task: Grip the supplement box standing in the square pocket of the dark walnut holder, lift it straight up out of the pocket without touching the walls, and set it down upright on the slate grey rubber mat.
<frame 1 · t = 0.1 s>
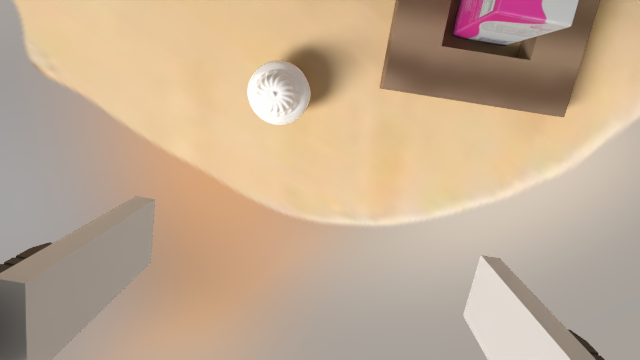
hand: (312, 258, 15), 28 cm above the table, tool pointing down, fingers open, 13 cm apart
supplement box: (484, 11, 39), resting in holder
holder: (485, 10, 39), on the table
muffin: (283, 92, 41), on the table
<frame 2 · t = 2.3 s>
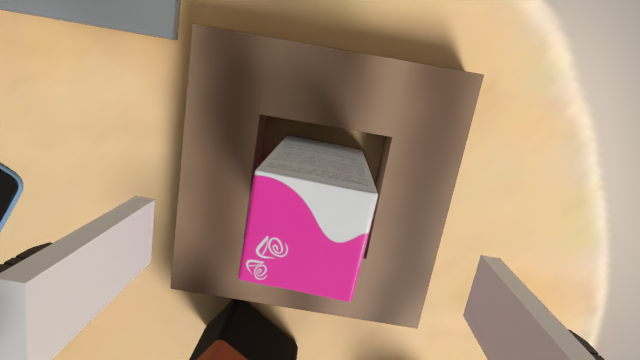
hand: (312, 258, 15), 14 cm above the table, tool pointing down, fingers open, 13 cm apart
battery: (253, 333, 32), on the table
supplement box: (316, 178, 29), resting in holder
holder: (316, 179, 29), on the table
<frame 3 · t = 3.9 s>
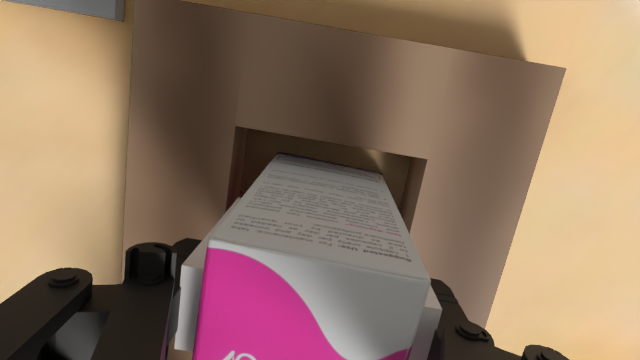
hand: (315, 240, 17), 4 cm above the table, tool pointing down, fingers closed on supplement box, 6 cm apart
supplement box: (318, 210, 21), resting in holder, touching gripper
holder: (318, 212, 21), on the table
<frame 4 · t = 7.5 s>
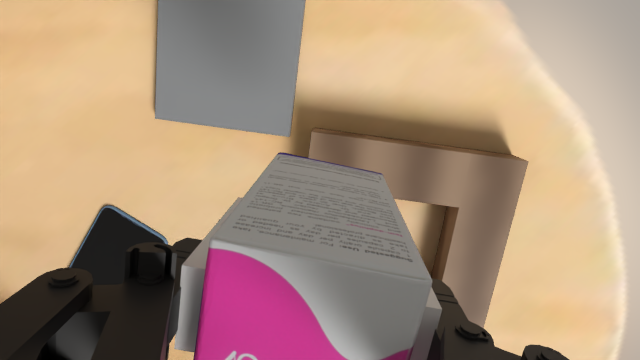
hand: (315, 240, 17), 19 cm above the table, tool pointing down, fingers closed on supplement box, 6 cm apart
supplement box: (318, 211, 21), point 15 cm above the table, touching gripper
holder: (394, 234, 37), on the table
mat: (229, 58, 34), on the table
smartphone: (108, 275, 40), on the table
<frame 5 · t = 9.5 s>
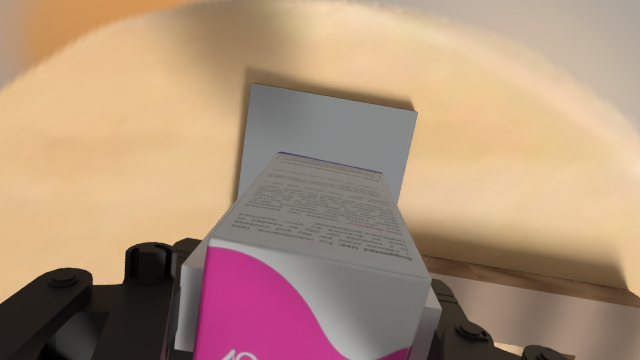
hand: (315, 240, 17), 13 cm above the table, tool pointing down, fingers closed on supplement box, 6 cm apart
supplement box: (318, 210, 21), point 9 cm above the table, touching gripper
mat: (321, 176, 30), on the table
when the fingers open (6 cm above the table, at t = 11.0 s): supplement box drops 1 cm, resting on mat.
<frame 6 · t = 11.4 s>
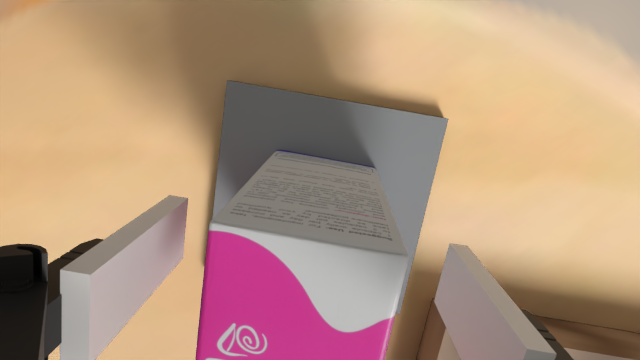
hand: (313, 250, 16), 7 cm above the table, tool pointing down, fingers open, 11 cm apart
supplement box: (316, 204, 22), point 1 cm above the table, touching mat
mat: (319, 201, 23), on the table
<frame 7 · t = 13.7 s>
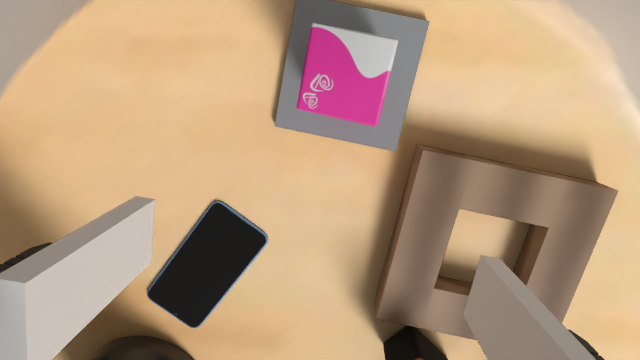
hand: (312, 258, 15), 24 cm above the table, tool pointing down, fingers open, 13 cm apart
battery: (415, 349, 44), on the table
supplement box: (346, 75, 36), point 1 cm above the table, touching mat
holder: (479, 245, 40), on the table
mat: (348, 76, 37), on the table
smartphone: (207, 264, 43), on the table
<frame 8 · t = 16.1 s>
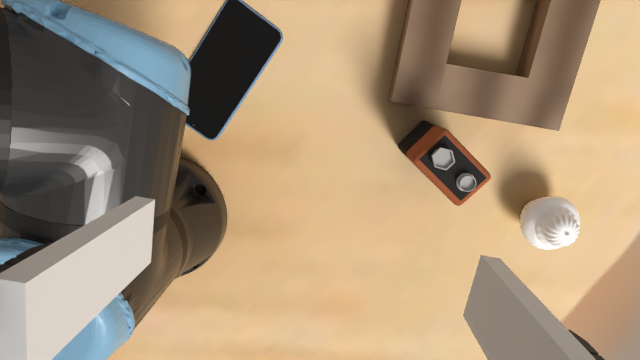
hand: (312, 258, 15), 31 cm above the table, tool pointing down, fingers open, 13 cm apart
battery: (429, 152, 45), on the table
holder: (487, 30, 42), on the table
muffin: (533, 212, 47), on the table
smartphone: (223, 71, 44), on the table
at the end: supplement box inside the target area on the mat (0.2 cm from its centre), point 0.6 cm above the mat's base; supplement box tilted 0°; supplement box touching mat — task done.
